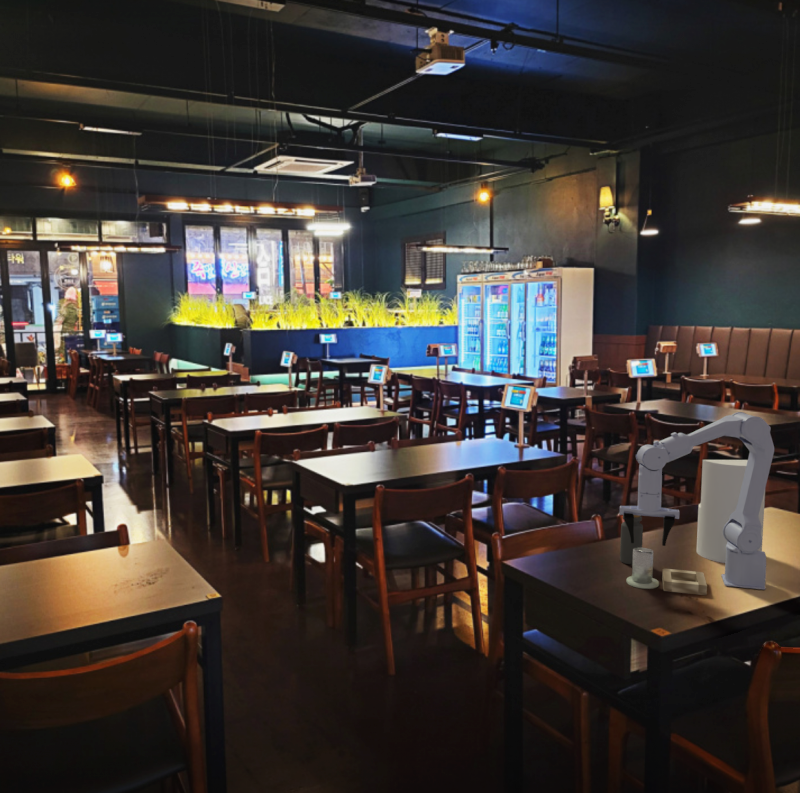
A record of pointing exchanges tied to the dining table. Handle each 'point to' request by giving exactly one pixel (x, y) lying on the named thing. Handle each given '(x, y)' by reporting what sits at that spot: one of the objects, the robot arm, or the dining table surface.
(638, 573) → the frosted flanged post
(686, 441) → the robot arm
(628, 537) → the bottle
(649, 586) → the coaster
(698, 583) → the collar
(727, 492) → the cylinder
